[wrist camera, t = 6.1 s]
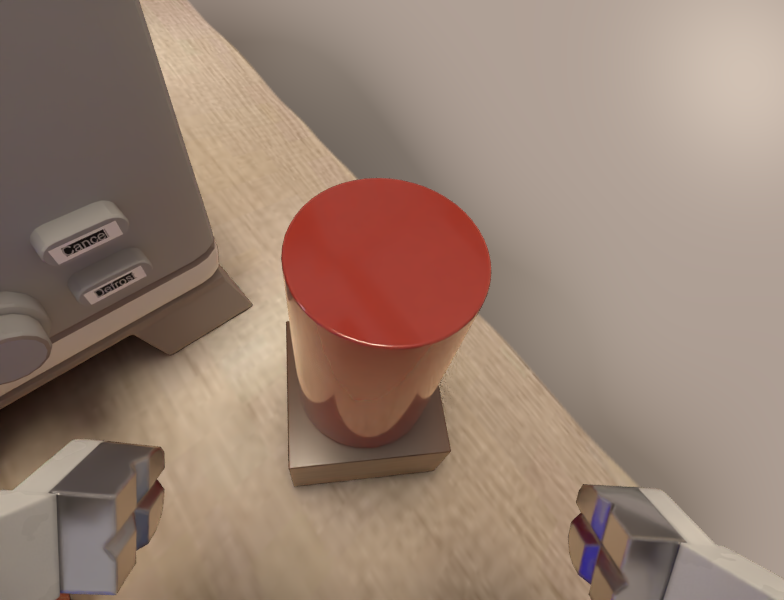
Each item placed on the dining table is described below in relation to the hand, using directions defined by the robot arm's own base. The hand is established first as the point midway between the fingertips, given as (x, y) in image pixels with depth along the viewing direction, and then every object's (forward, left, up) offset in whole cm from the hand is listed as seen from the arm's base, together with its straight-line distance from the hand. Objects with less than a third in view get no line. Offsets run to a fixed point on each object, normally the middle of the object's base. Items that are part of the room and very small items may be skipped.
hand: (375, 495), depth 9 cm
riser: (-1, -6, -15) cm, 16 cm away
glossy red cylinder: (-1, -6, -11) cm, 13 cm away
